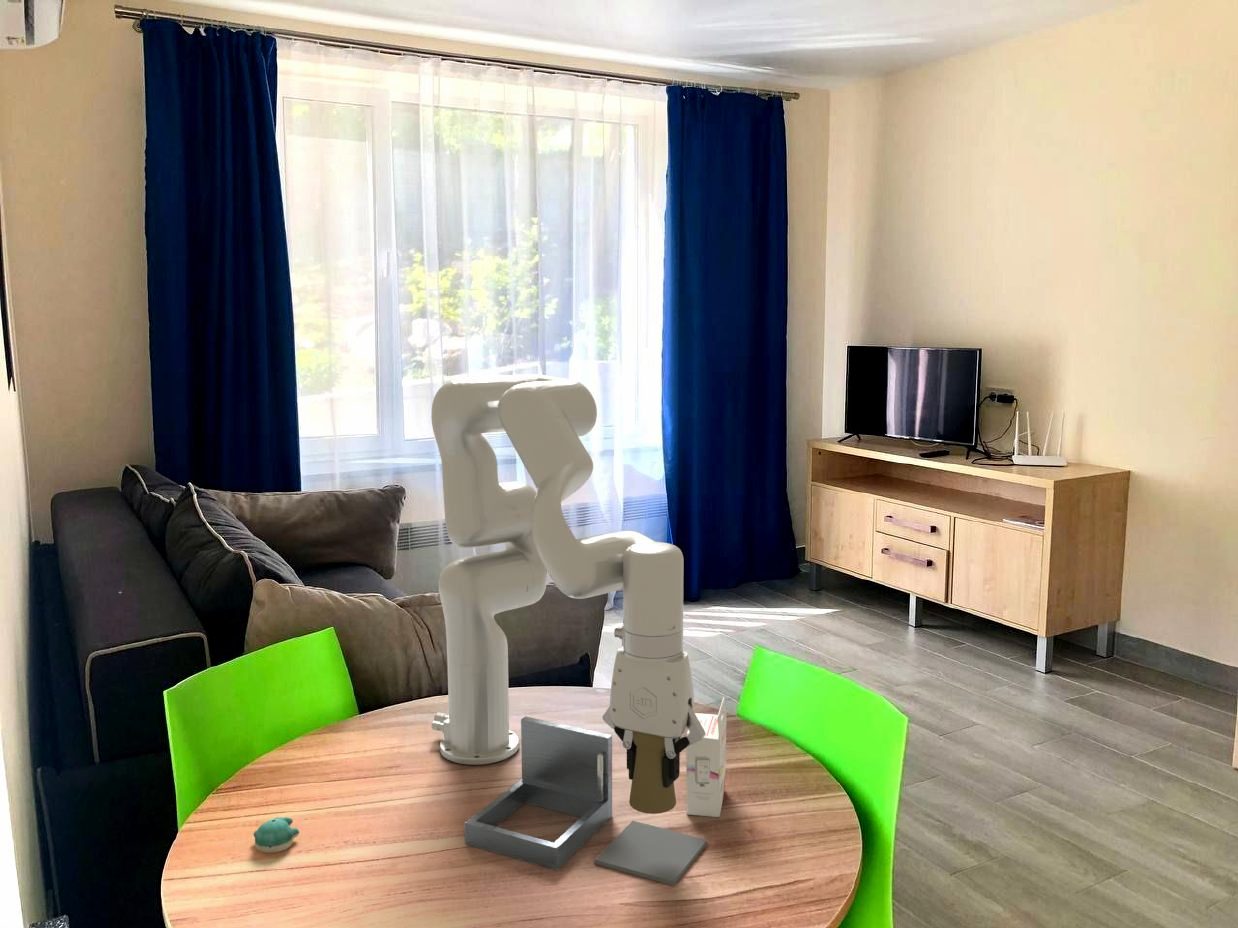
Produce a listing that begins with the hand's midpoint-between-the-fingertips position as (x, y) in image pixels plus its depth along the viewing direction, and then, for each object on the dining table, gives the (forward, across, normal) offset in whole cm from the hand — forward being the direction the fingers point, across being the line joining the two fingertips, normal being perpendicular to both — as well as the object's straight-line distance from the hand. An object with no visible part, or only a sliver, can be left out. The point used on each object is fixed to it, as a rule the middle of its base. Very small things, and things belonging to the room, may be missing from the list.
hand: (652, 777), depth 128 cm
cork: (+3, 0, 0) cm, 3 cm away
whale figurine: (+11, -46, -20) cm, 51 cm away
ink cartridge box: (+11, +1, +16) cm, 19 cm away
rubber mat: (+10, 0, 0) cm, 10 cm away
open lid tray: (+10, -16, -2) cm, 19 cm away
